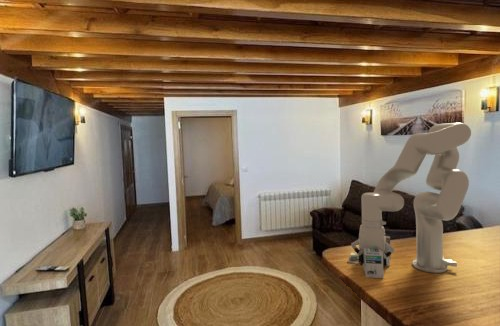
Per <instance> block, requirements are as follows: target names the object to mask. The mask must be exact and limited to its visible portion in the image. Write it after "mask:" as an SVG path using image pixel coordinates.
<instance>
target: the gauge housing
mask: <svg viewBox="0 0 500 326" xmlns="http://www.w3.org/2000/svg"><path fill="white" fill-rule="evenodd" d="M385 236H386V242H387V243H388V244H390V245H391V236H389V235H385ZM389 250H390V249H389ZM351 256H353V257H357V258H359V255H358V254H357V253H355V252H350V255H349V257H351ZM347 263H348V264H357V265H359V263H360V262H359V261H358V260H350V259H349V258H348V260H347Z"/></svg>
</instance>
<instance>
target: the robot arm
mask: <svg viewBox="0 0 500 326" xmlns="http://www.w3.org/2000/svg"><path fill="white" fill-rule="evenodd" d="M471 136H472V130H471V128H470V127H469V125H467V124H466V123H463V122H450V123H438V124H433V126H431V127H430V128H429V130H428V132H420V133H419V132H418V133H414V134H412V135H410V136H409V137H408V139H407V141H406V142H405V143H404V146H403V148H402V150H401V153H400V155H399V156H398V158H397V160H396V162H395V164H394V165H393V166H392V167H391V168H390V169H388V171H387V172H386V173H384V175H383V176H382V177H380V179H379V180H378V182H377V184H376V186H375V188H374V190H373V192H365V193H362V195H361V201H360V202H361V224H360V226H359V233H358V239H356V240H354V241H353V242H351V244H350V246H351V248H352V249H353V250H354V253H355V252H356V253H357V254H358V255H359V263H360V266H363V251H364V248H370V249H377V250H382V251H383V269H385V266H386V258H387V257H388V256H390V257H391V256H392V254H393V253H394V251H395V250H396V249H395V247H394V246H392V245H391V243H390V244H388V243H387V242H386V236H387V235H386V230H385V227H384V225H385V226H386V225H387V221H384V220H383V217H382V213H383V212H398V211H400V210H402V209H403V208H404V207H405V206H404V205H405V199H404V198H403V196H402V195H401V194H399V193H396V192H393V190H395V187H396V186H398V184H399V183H401V182H402V181H404V180H406V179H409V178H411V177H413V176H415V175H417V173H418V171H419V169H420V167H421V165H422V163H423V161H424V159H425V158H426V156H427V155H431V156H433V155H434V157H433V161H432V164H431V166H430V169H429V171H428V174H427V176H426V178H425V179H426V180H425V183H426V185H427V187H428V188H430V189H432V190H434V191H438V192H439V193H437V192H432V191H421V192H418V193H417V194H416V195H415V196H414V199H413V209H414V213H415V215H414V216H415V225H416V226H415V228H416V229H415V231H416V232H415V233H416V234H415V237H416V238H415V240H416V241H415V245H416V248H415V249H416V251H415V252H416V253H415V254H416V258H415V259H413V260H412V263H411V264H412V266H413V267H414V268H416V269H418V270H419V271H422V272H427V273H433V274H434V273H435V274H441V273H445V272H447V271H448V266H450V267H455V268H456V267H458V264H457V261H453V260H452V259H446V258H445V257H444V237H443V236H444V233H443V232H444V225H443V221H447V222H448V221H451V220H454V219H455V217H456V216H457V215H458V213H459V212H460V209H461V208H462V205H463V202H464V200H465V197H466V195H467V192H468V190H469V186H470V183H469V182H470V181H469V177H468V175H467V174H466V173H465V172H464V171H463V170H460V169H457V167H458V163H459V161H460V153H459V149H458V147H460V146H462V145H464V144H466V143H467V142H468V141H469V140H470V138H471ZM357 246H358V247H357ZM386 247H387V248H389V249H390V250H389V251H388V252H387V253H386V252H385V249H386ZM359 249H360V250H359ZM386 267H387V266H386Z"/></svg>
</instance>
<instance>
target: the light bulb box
mask: <svg viewBox="0 0 500 326" xmlns="http://www.w3.org/2000/svg"><path fill="white" fill-rule="evenodd" d="M362 268H363V272H364V274H365V277H366V278H371V279H372V278H375V279H384V277H385V276H384V268H383V251H382V250H377V249H370V248H364V251H363V265H362Z"/></svg>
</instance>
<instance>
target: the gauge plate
mask: <svg viewBox="0 0 500 326" xmlns="http://www.w3.org/2000/svg"><path fill="white" fill-rule="evenodd" d="M358 249H359V248H358ZM359 250H360V249H359ZM388 251H389V248H387V247H386V249H385V252H386V253H387V252H388ZM348 259H350V260H358V261H359V258H352V257H350V256H349V257H348ZM390 261H391V255H390V256H388V257H387V258H386V267H390V264H391V263H390Z"/></svg>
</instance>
